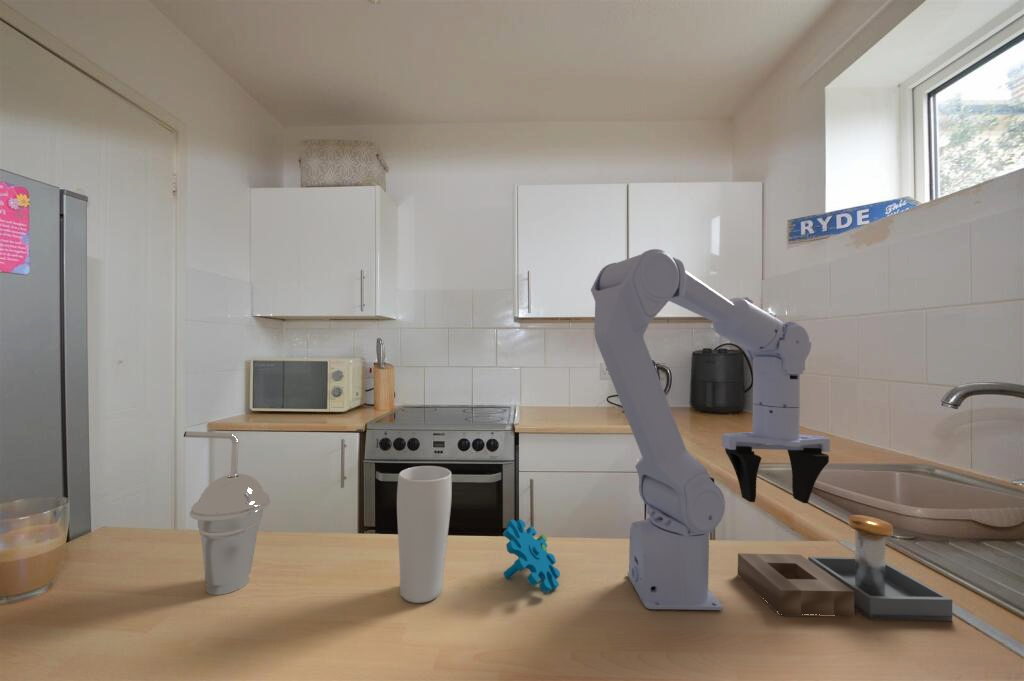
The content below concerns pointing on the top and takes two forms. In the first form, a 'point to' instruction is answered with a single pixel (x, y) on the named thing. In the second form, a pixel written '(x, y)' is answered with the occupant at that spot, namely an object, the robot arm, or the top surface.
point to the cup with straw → (228, 523)
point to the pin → (870, 553)
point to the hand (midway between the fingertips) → (774, 500)
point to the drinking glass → (423, 530)
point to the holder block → (795, 585)
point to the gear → (531, 556)
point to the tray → (890, 593)
